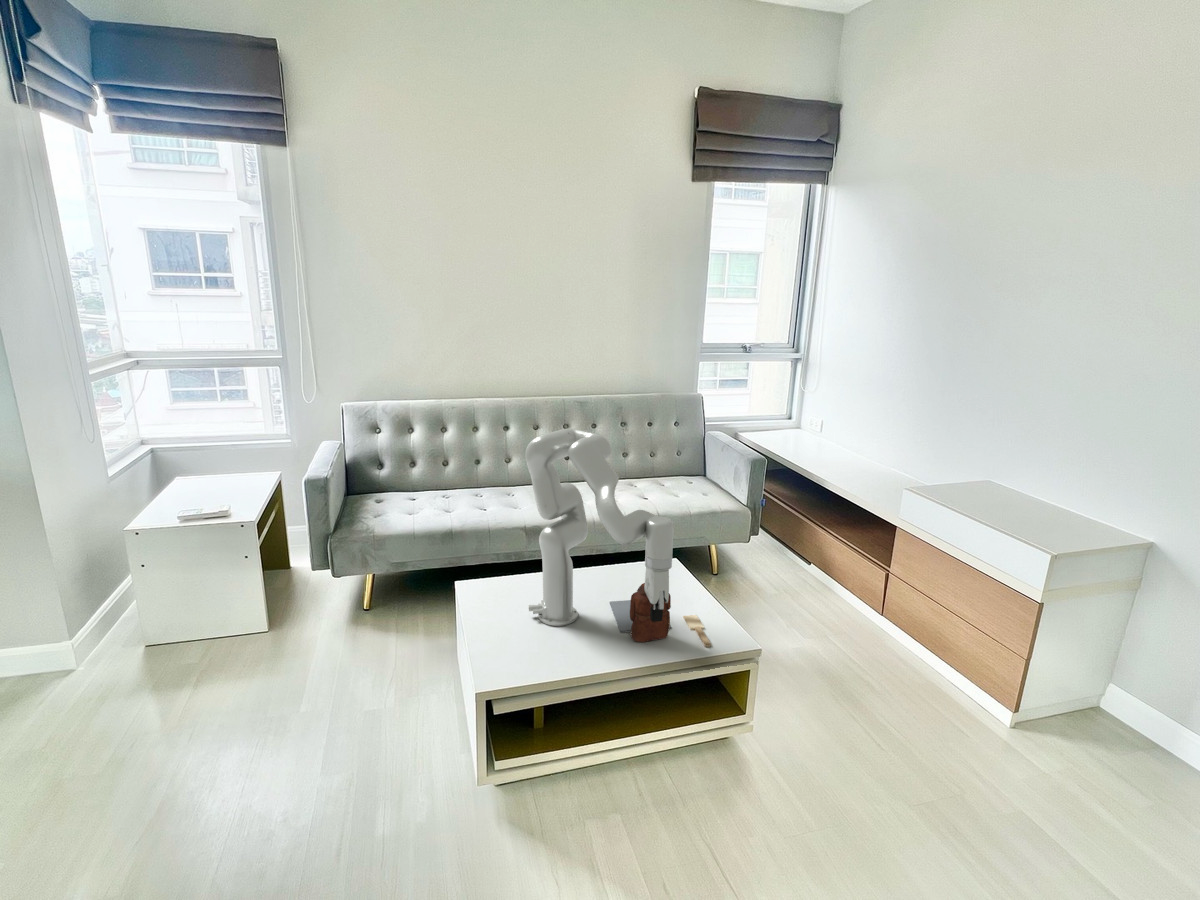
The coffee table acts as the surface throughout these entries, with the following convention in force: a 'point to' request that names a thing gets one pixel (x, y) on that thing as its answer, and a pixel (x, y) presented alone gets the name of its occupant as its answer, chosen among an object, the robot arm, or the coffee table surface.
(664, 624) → the wooden figurine
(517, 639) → the coffee table surface
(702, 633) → the turner
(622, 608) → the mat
